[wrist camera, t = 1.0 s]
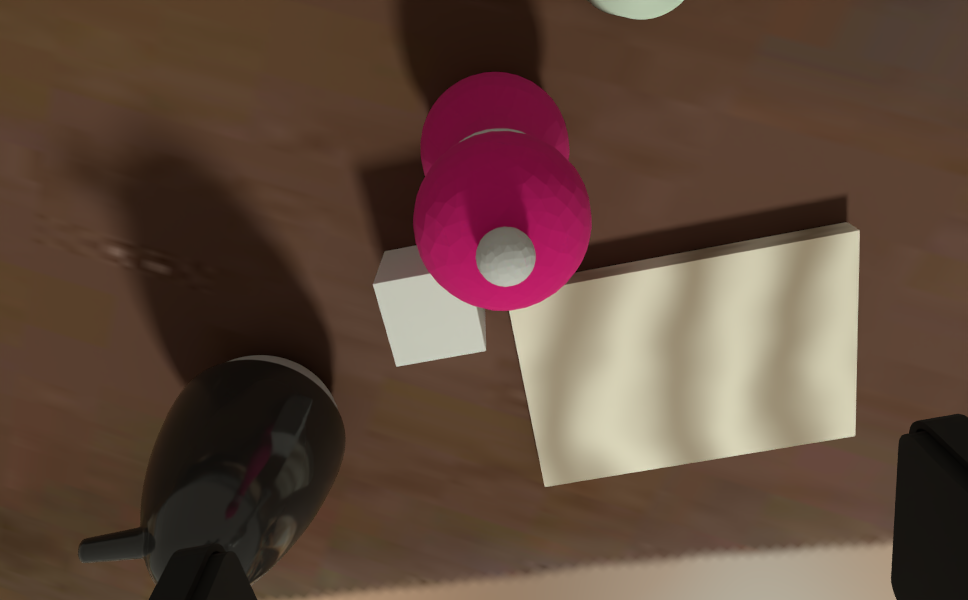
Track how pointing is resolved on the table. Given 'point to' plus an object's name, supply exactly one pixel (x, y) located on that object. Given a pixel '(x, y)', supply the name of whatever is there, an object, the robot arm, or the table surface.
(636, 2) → the sage cylinder
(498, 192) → the pepper mill
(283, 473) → the dark grey egg shape
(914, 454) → the robot arm
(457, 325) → the grey block
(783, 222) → the table surface
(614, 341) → the ash board
